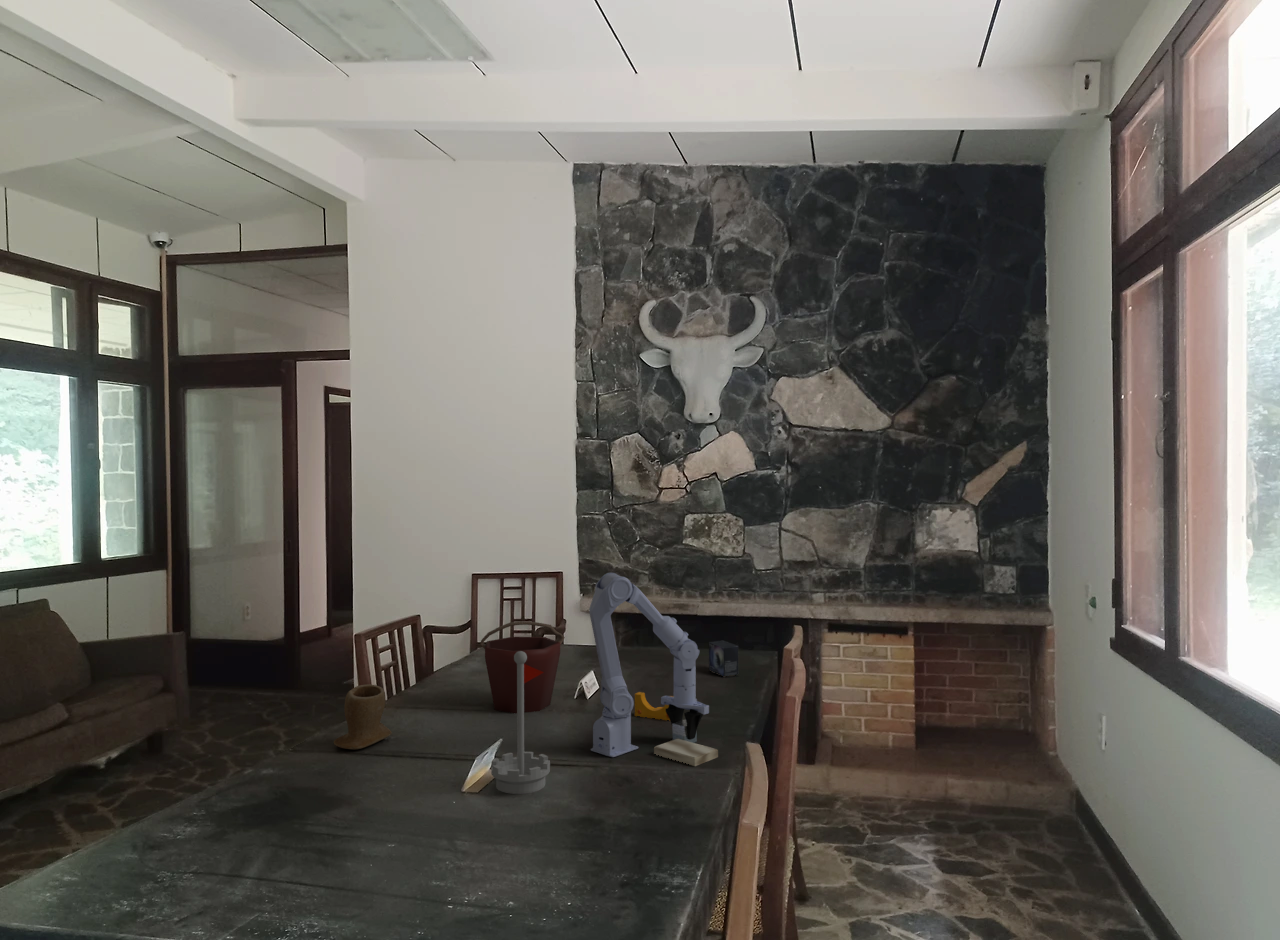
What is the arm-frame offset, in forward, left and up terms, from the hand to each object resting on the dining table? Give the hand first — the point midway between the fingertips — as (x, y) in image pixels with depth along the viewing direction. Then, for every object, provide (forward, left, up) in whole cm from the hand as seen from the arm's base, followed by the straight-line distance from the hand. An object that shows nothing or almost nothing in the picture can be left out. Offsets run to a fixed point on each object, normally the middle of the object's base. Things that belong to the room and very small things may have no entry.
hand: (684, 736), depth 226 cm
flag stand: (-48, +8, -2) cm, 49 cm away
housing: (0, 0, -1) cm, 1 cm away
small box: (+67, +38, -2) cm, 77 cm away
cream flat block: (-8, -7, -1) cm, 11 cm away
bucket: (-6, +58, -2) cm, 58 cm away
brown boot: (-56, +60, -2) cm, 82 cm away
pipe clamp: (+13, +21, -2) cm, 24 cm away
